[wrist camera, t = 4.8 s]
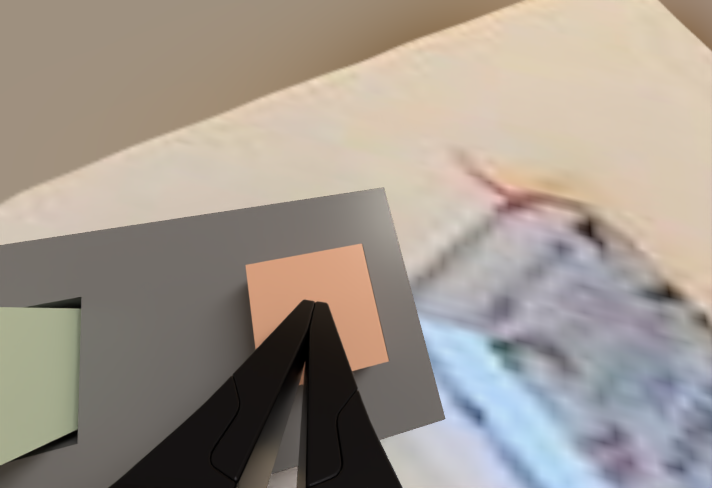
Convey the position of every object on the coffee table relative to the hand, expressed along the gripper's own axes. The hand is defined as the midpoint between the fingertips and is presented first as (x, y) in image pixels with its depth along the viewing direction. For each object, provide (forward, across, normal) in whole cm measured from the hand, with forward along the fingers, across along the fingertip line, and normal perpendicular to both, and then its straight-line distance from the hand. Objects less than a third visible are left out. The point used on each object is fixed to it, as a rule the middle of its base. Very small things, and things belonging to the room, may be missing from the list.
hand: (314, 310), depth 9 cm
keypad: (+4, +6, +7) cm, 10 cm away
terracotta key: (+5, 0, +5) cm, 7 cm away
